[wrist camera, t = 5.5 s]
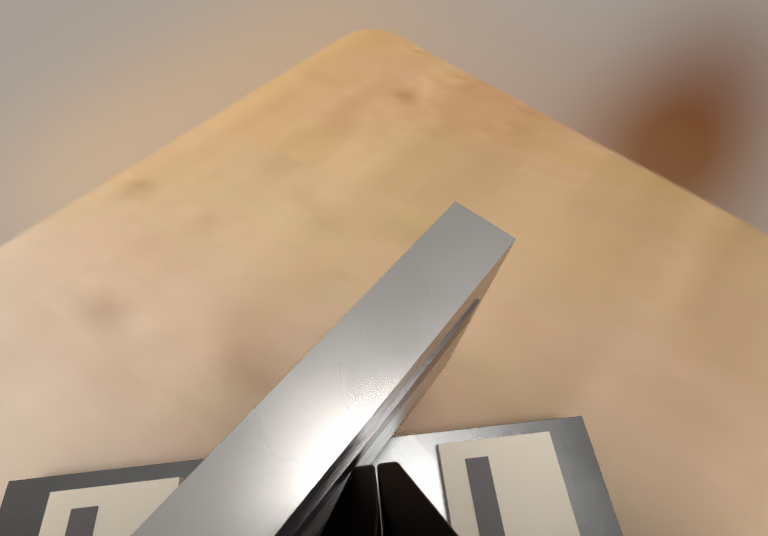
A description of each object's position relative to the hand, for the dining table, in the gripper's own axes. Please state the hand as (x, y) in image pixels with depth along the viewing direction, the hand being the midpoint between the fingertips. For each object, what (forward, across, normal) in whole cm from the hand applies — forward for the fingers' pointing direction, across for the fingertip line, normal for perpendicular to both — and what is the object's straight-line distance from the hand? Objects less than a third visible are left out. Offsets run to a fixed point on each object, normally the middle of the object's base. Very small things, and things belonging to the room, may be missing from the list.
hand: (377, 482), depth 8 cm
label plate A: (+3, -4, +4) cm, 6 cm away
